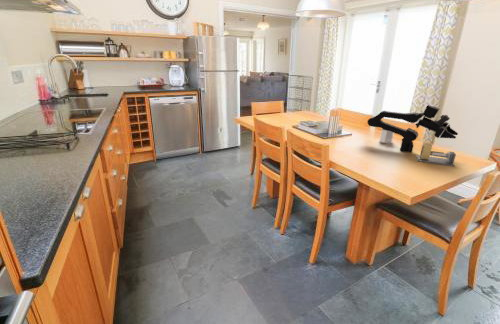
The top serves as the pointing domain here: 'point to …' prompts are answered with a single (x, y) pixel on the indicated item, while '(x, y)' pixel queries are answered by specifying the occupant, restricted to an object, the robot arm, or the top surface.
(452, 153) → the shaft stand
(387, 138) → the jar
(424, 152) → the tan notched block
